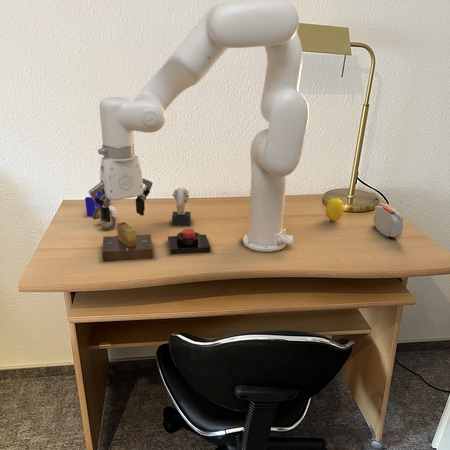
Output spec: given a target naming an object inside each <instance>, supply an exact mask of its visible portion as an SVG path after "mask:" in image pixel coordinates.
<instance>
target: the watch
mask: <svg viewBox="0 0 450 450" xmlns="http://www.w3.org/2000/svg"><path fill="white" fill-rule="evenodd" d="M171 196H172V197H173V198H174V200H175V202H176V211H172V215H171V222H172V223H171V224H172V227H190V226H191V224H192V223H191V221H192V220H191V219H192V218H191V217H192V215H191V211H186V204H187V203H188V200H189V199H190V191H189V190H188V189H187V188H184V187H179V188H175V189H174V191H173V193H172V194H171Z"/></svg>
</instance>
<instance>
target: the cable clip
mask: <svg viewBox="0 0 450 450" xmlns="http://www.w3.org/2000/svg"><path fill="white" fill-rule="evenodd" d="M97 196H98V198H99V199H100V198H101V197H102V193H101V191H99V192H98V193H97ZM84 202H85V209H86V217H90V218H93V213H94V210H95V209H96V208H95V207H94V206H96V207H99V206H100V205H99V204H98V203H96V202H95V201H94V200H93V198H92V197H91V196H86V197H85V198H84ZM108 206H110V203H109V204H108Z"/></svg>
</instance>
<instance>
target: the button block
mask: <svg viewBox="0 0 450 450" xmlns="http://www.w3.org/2000/svg"><path fill="white" fill-rule="evenodd" d="M167 244H168V249H169V254H170V256H171V255H172V256H173V255H175V256H176V255H191V254H208V253H209V254H210V253H211V245H210V242H209V239H208V236H207V235H206V234H201V233H199V232H196V231H195V238H192V239H186V238H183V237H182V231H181V232H179V233H177V234H176V235H171V236H170V235H168V236H167Z"/></svg>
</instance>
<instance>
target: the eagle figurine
mask: <svg viewBox="0 0 450 450" xmlns="http://www.w3.org/2000/svg"><path fill="white" fill-rule="evenodd" d="M94 207H95V208H96V209H95V210H94V213H93V217H92V219H93V221H94V220H98V222H97V225H98V226H99V225H101V224H102V225H101V227H100V230H101V231H104V232H107V231H110V230H112V229H115V226H116V218H115V215H116V214H117V208H116V206H114V205H112V204H111V205H110V204H109V205H108V207H109V210H110V222H106V221H105V220H104V219H103V218H102V217H101V207H100V206H99V207H96V206H94Z"/></svg>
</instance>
